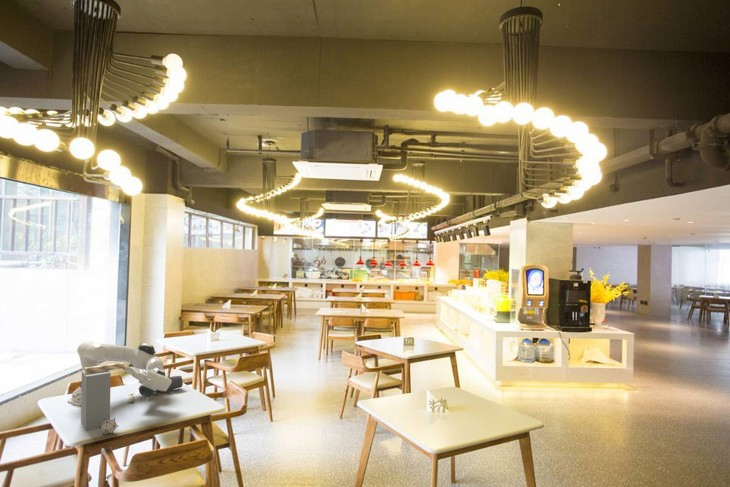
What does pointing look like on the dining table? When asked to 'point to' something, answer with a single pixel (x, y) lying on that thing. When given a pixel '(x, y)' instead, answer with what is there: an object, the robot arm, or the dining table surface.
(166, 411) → the dining table surface
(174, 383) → the bluetooth speaker
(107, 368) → the wooden bar
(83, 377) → the stand
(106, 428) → the dark-edged faceted part
